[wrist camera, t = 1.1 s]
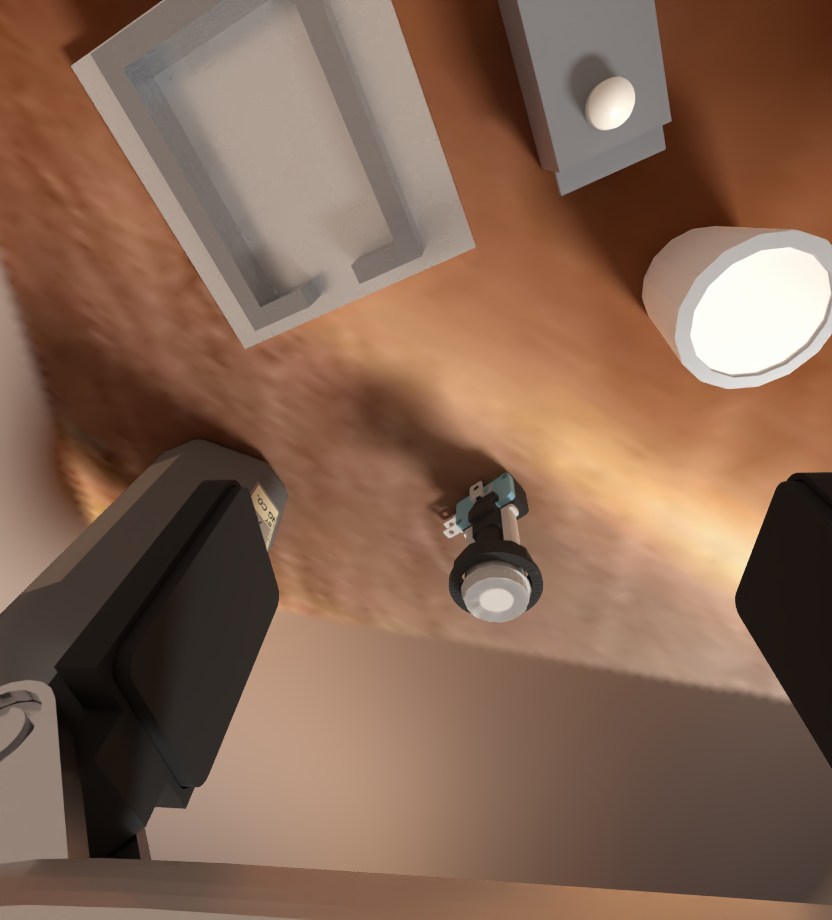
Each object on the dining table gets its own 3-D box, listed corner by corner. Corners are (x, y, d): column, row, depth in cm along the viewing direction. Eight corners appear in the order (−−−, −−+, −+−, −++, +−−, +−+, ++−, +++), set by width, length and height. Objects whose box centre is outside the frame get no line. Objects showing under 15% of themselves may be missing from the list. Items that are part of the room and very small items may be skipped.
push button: (467, 543, 38) (469, 652, 30) (423, 499, 36) (411, 603, 28) (540, 500, 36) (564, 608, 27) (496, 451, 34) (507, 549, 25)
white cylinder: (636, 356, 30) (680, 406, 24) (623, 238, 26) (669, 262, 20) (763, 322, 28) (843, 367, 22) (765, 192, 25) (860, 204, 19)
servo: (592, -87, 20) (641, -178, 15) (634, 150, 24) (685, 148, 19) (490, -26, 21) (500, -89, 16) (547, 190, 26) (570, 199, 20)
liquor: (161, 516, 39) (-386, 1170, 14) (173, 423, 35) (-615, 1153, 9) (271, 553, 41) (-50, 1218, 15) (297, 468, 36) (-103, 1225, 10)
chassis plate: (350, -119, 20) (331, -167, 17) (475, 244, 27) (477, 255, 24) (84, 68, 24) (31, 56, 21) (250, 343, 31) (228, 363, 28)
